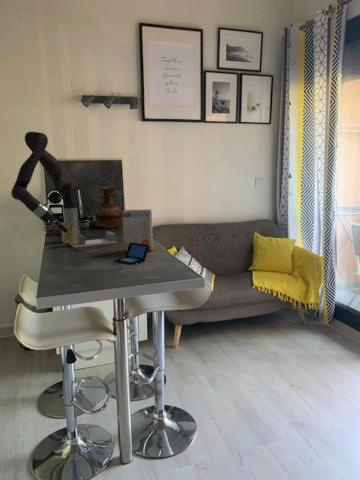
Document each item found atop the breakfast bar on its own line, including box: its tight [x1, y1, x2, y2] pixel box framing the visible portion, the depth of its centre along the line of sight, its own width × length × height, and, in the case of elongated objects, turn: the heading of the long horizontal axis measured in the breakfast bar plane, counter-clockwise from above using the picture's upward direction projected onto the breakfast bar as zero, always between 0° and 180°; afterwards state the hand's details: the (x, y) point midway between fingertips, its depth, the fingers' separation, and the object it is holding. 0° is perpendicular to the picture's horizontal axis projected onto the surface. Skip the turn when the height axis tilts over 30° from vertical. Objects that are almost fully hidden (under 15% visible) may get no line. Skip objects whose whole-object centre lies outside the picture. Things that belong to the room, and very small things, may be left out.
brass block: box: [60, 222, 71, 244], centre depth 225 cm, size 5×5×11 cm
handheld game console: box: [114, 243, 149, 265], centre depth 173 cm, size 12×11×7 cm
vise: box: [69, 231, 118, 248], centre depth 218 cm, size 12×24×5 cm, turn 116°
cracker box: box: [121, 208, 154, 252], centre depth 194 cm, size 14×6×21 cm, turn 84°
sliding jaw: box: [70, 225, 86, 245], centre depth 214 cm, size 12×6×10 cm, turn 26°
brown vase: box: [94, 185, 123, 229], centre depth 276 cm, size 20×20×30 cm
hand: (65, 230), depth 224 cm, fingers open, 8 cm apart
